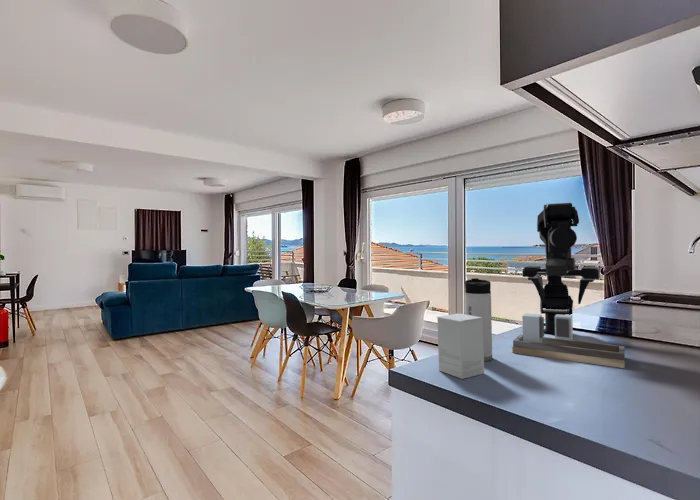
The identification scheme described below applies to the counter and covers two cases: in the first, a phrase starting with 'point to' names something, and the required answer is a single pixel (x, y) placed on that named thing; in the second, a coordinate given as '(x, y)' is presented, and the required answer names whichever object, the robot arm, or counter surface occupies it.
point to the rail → (572, 351)
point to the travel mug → (480, 309)
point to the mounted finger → (533, 328)
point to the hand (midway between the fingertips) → (560, 302)
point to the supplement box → (461, 345)
